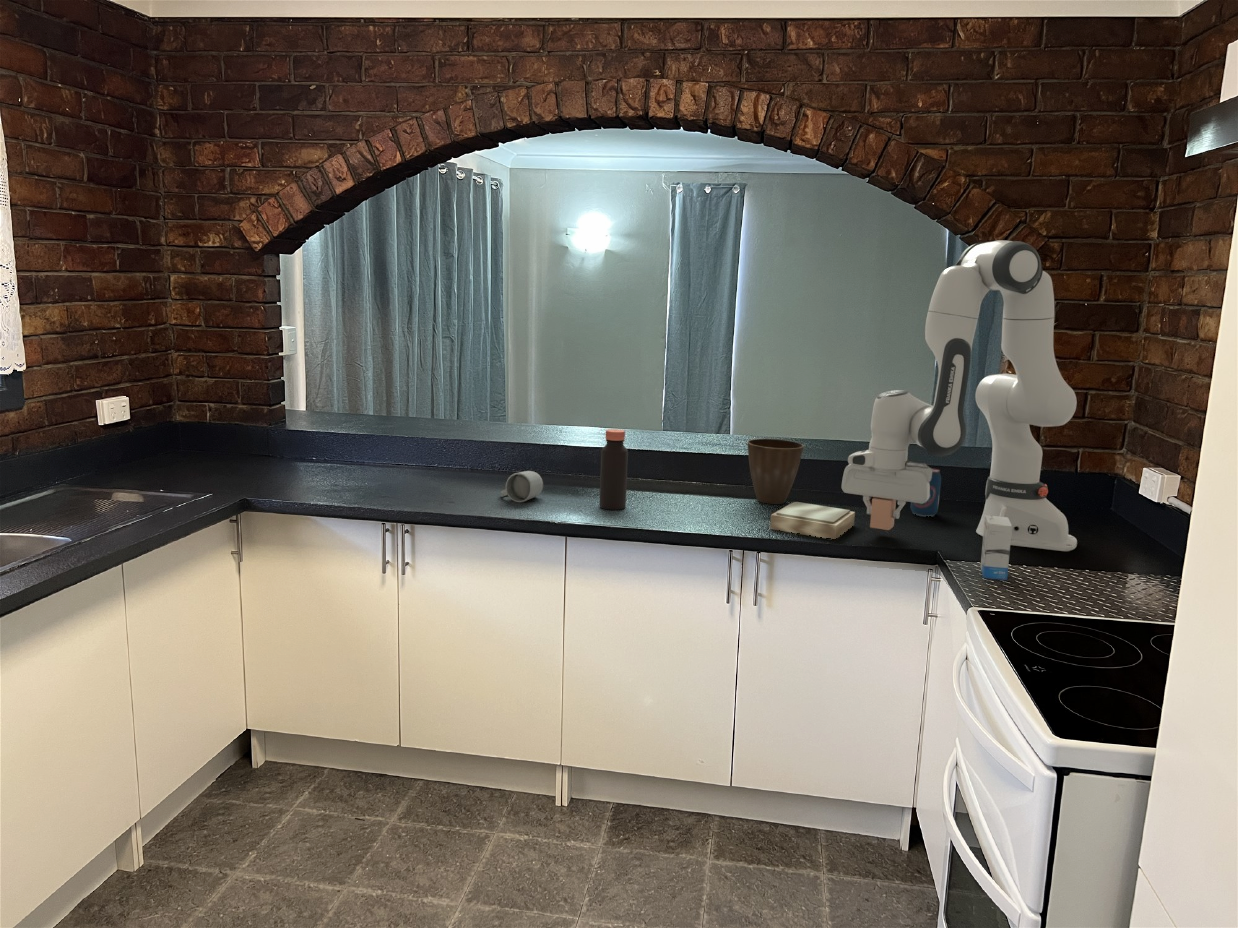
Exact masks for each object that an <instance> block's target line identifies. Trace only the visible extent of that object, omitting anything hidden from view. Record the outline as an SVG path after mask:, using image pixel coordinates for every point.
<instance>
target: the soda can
mask: <svg viewBox="0 0 1238 928" xmlns="http://www.w3.org/2000/svg"><path fill="white" fill-rule="evenodd" d="M926 468H927V467H926ZM930 468H931V470H932V478H931V481H930V482H929V485H930V496H929V499H928V500H927V501H926V502H925V503H923V504H922V503H914V502H910V507H909V508H910V510H911V513H912V514H913V515H915V514H916V516H919V517H926V516H928V518H930V517H929V516H931V517H935V515H936V514H937V513H938V511H939V505H940V503H939V502H940V494H941V486H942V485H941V484H942V475H941V473H940V472H941V470H940V469H938V468H933V467H930ZM927 469H928V468H927Z"/></svg>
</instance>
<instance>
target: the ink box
mask: <svg viewBox="0 0 1238 928" xmlns="http://www.w3.org/2000/svg"><path fill="white" fill-rule="evenodd" d="M1011 534H1012V525H1011V523H1010V521H1009V518H1008V517H999V516H990V515H985V522H984V533H983V536H982V547H981V557H980V571H981V573H982V578H983V579H992V580H1002V581H1007V580H1008V572H1009V561H1010V555H1011V553H1010V551H1011V545H1010V544H1011Z"/></svg>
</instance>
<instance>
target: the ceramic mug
mask: <svg viewBox="0 0 1238 928" xmlns="http://www.w3.org/2000/svg"><path fill="white" fill-rule="evenodd" d="M543 488H544V481H543V478H542V477H541V475H540V474H539V473H538V472H535V471H533V470H525V471H520V472H515V473H513V474H511V475H510V476H509V477H508V478H507V480H506V482H505V489H502V490H501V491H500V494H501V495H500V496H501V497H503V498H504V497H506V496H508V498H509V499H510V500H512V501H513V502H515V503H524V502H526V501H527V502H528V501H529V500H531V499H533V498H536V497H537V496H538V495H539V494H541V493H542V491H543Z"/></svg>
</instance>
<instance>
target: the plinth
mask: <svg viewBox="0 0 1238 928" xmlns="http://www.w3.org/2000/svg"><path fill="white" fill-rule="evenodd" d="M855 516H856V511H851V510H850V509H844V508H838V507H832V506H826V505H819V504H814V503H813V504H812V503H806V502H801V501H800V502H799V501H794V502H791V503H788V505H786V506H784V507H783V508H781V509H779V510H776V511H775V512H773V513H772V514H771V515H770V523H769V525H770V526H769V530H775V531H779V530H780V531H781V532H786V533H791V532H792V533H793V534H797V533H800V534H799V535H803V536H804V535H805V536H809V535H811V536H810V537H815V536H816V538H820V537H822V539H826V538H831V539H830V540H832V539H836V538H837V539H839V538H840V537H841V536H842V535H843V534H845V533H847V531H848V529H849V530H850V529H852V526H853V527H854V526H855ZM844 532H845V533H844ZM840 535H841V536H840ZM837 539H836V540H837Z"/></svg>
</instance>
